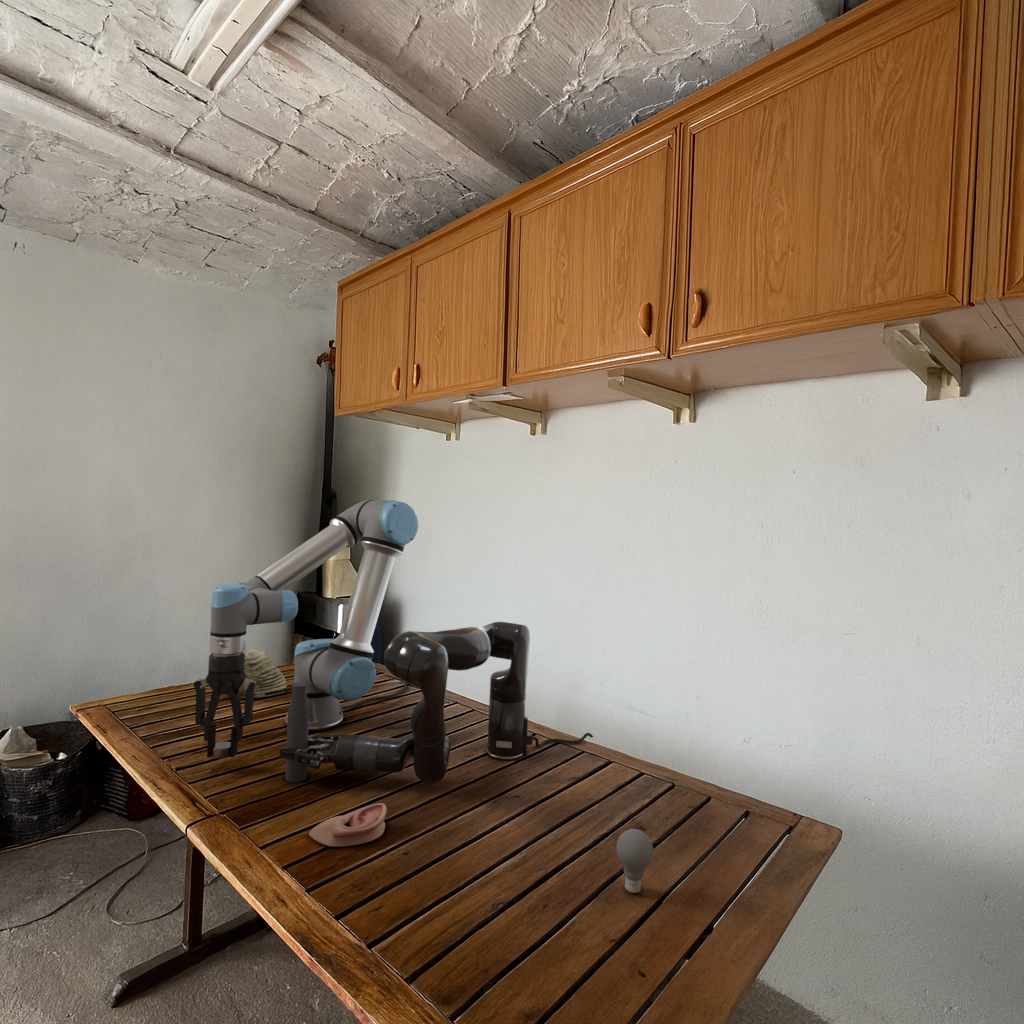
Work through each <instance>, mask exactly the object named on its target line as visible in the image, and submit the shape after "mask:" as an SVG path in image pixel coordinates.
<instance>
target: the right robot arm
mask: <svg viewBox="0 0 1024 1024" xmlns="http://www.w3.org/2000/svg"><path fill="white" fill-rule="evenodd" d="M531 645H532V633H531V629H530V628H529V626H527V624H522V623H516V622H509V621H495V622H491V623H488V624H486V625H483V626H466V627H458V628H453V629H446V630H445V629H444V630H438V631H417V630H416V631H415V630H408V631H407V630H406V631H404V632H402V633H400V634H398V635H397V636H395V637H394V638H393V639H392V640H391V641H390V642H389V644H388V645H387V647H386V649H385V650H384V656H383V661H384V666H385V668H386V669H387V671H388V672H389V673H390V674H391V675H392V676H394V677H395V678H397V679H399V680H401V681H403V682H407V684H409V685H411V686H413V687H415V688H419V689H420V691H421V693H422V698H421V699H420V700H419V701H418V702H417V703H416V704H415V706H414V707H413V709H412V711H411V716H410V727H411V733H412V736H406V737H403V738H391V737H390V738H389V737H379V736H373V735H363V734H361V735H360V734H347V733H346V734H345V733H343V734H341V735H340V734H319V735H318V734H317V735H315V734H314V735H312V737H308V748H299V749H297V748H286V747H285V746H284V747H280V749H279V754H278V755H279V758H280V759H281V760H286V759H295V760H296V763H295V764H296V765H299V766H304V767H307V769H308V768H309V769H314V770H320V768H321V765H322V764H331V763H333V764H334V767H335V769H336V770H337V771H346V772H361V773H362V772H363V773H372V772H380V773H381V772H383V773H392V774H393V773H394V774H395V773H396V774H397V773H401V772H403V771H404V770H405V768H406V767H407V764H408V762H409V761H410V760H411V759H413V770H414V775H415V776H416V777H417V779H418V780H419V781H420V782H421V783H424V784H426V785H436V784H438V783H440V782H441V781H442V780H443V779H444V778H445V777H446V774H447V771H448V765H449V759H450V754H451V742H450V740H449V738H447V729H446V721H445V720H446V719H445V702H446V694H447V693H446V692H447V687H448V686H447V685H448V675H449V671H459V672H461V671H467V670H472V669H476V668H479V667H480V666H482V665H484V664H485V663H486V662H487V661H488V659H489V658H490V657H491V658H494V659H502V660H508V661H510V664H509V665H510V666H509V667H508V668H505V669H500V670H496V671H495V672H492V673H491V675H490V680H489V681H490V682H489V702H488V703H489V704H488V722H487V723H488V724H487V746H486V747H487V748H486V754H487V755H488V756H489V757H490V758H493V759H497V760H500V761H501V760H502V761H511V760H517V759H521V758H522V757H524V756H527V752H528V751H527V749H528V746H532V745H533V740H534V741H535V747H537V748H541V747H543V746H545V745H546V744H548V743H553V742H555V743H563V744H564V743H565V744H574V745H575V744H580V743H581V742H583V741H584V740H585V739H586V738H587V737H589V738H594V735H593V734H592V733H590V732H586V733H585V734H583V736H581V737H580V738H578V739H576V740H575V739H574V740H569V739H564V738H548V739H546V740H543V742H541V743H539V742H540V741H539V740H540V739H539V738H538V737H537V736H535V735H533V734H532V733H531V732H530V731H528V727H529V717H527V716H526V701H527V681H528V676H529V668H530V667H529V665H530V655H531V647H532V646H531ZM303 752H307V753H303ZM303 761H304V762H303Z"/></svg>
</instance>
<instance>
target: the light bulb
mask: <svg viewBox="0 0 1024 1024" xmlns="http://www.w3.org/2000/svg"><path fill="white" fill-rule="evenodd" d="M615 849H616V854H617V857H618V859H619V861H620V863H621V865H622V867H623V873H624V874H623V875H624V876H625V878H624V888H625V890H627V891H628V892H630V893H634V894H635V893H639V892H640V891H641V889H642V887H641V886H642V879H643V877H644V875H645V871H646V868H647V867H648V866H649V864H650V863H651V861H652V859H653V855H654V847H653V843H652V841H651V838H649V836H648V835H647V834H646V833H645V832H643V831H642V830H641V829H636V828H629V829H627V830H625V831H623V832H622V833H621V834H620V835H619V837H618V839H617V841H616V847H615Z"/></svg>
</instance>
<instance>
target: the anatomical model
mask: <svg viewBox="0 0 1024 1024" xmlns="http://www.w3.org/2000/svg"><path fill="white" fill-rule="evenodd" d="M386 816H387V805H386V804H385V803H383V802H378V803H373V804H370V805H368V806H364V807H360V808H358V809H355V810H353V811H351V812H348V813H346V814H344V815H343V814H342V815H337V816H333V817H331V818H328V819H326V820H323V821H322V822H320V823H318V824H317V825H315V826H314V827H313V828H311V830H309V832H308V835H309V837H310V838H311V839H313V840H315V841H316V842H318V843H319V844H321V845H325V846H327V847H333V848H335V847H348V846H349V847H350V846H357V845H361V844H365V843H368V842H372V841H374V840H376V839H378V838H380V837H381V836H382V835H383V834H384V832H385V829H386V822H385V819H386Z"/></svg>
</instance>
